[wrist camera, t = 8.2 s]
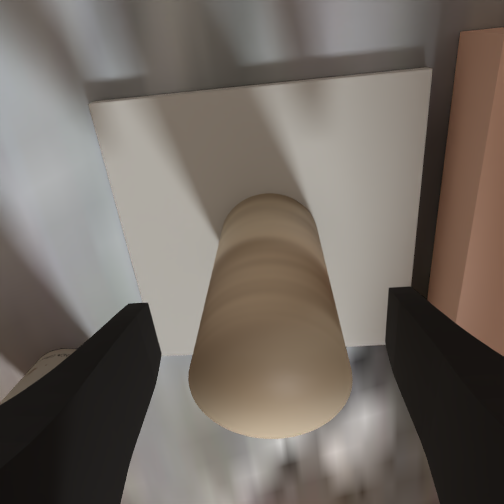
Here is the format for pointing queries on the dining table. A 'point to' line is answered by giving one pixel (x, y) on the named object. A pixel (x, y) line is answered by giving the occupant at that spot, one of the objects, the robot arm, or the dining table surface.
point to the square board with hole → (473, 194)
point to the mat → (270, 185)
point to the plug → (270, 326)
